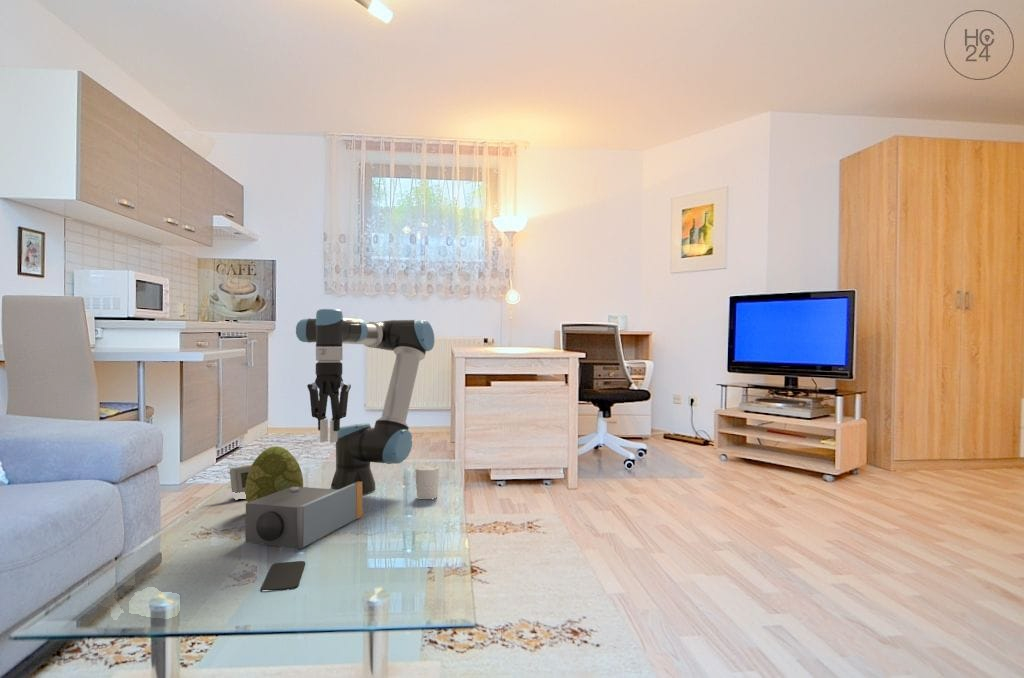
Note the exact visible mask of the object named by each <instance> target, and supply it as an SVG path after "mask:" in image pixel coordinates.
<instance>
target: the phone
mask: <svg viewBox="0 0 1024 678" xmlns="http://www.w3.org/2000/svg"><path fill="white" fill-rule="evenodd" d="M305 567H306V561H304V560H296V561H283V562H275V563H273V564H271V565H270V567H269V570H268V572H267V574H266V576H265V578H264V581H263V582H262V585H261V586H260V591H261V590H279V591H288V590H287V589H289V590H295V589H297V588H298V587H299V585H300V582H301V579H302V576H303V573H304V571H305V570H304V569H305Z"/></svg>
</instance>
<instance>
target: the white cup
mask: <svg viewBox="0 0 1024 678" xmlns="http://www.w3.org/2000/svg"><path fill="white" fill-rule="evenodd" d="M414 469H415V487H416V498H417V497H418V498H421V499H432V498H435V499H437V498H438V495H439V494H438V493H439V492H438V490H439V481H440V480H439V478H440V477H439V476H440V475H439V474H440V467H439V466H438V465H433V464H432V465H431V464H429V465H428V464H426V465H425V464H424V465H419V466H417V467H416V466H415V468H414ZM436 497H437V498H436ZM418 498H417V499H418ZM432 500H433V499H432Z"/></svg>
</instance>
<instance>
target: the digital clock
mask: <svg viewBox="0 0 1024 678" xmlns="http://www.w3.org/2000/svg"><path fill="white" fill-rule="evenodd" d="M252 464H253V463H251V464H245V465H244V464H243V465H240V466H233V467H230V469H229V475H230V477H229V478H230V487H231V493H232V492H235V493H238V492H239V493H240V492H245V486H246V479H247V476H248V473H249V470H250V468H251V466H252Z"/></svg>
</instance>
